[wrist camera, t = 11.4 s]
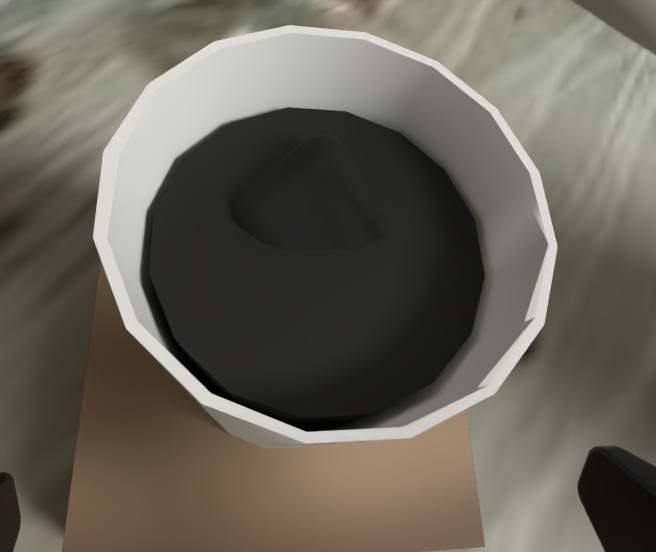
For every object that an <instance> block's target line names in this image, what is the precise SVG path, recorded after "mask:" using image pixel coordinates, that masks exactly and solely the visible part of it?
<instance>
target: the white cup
mask: <svg viewBox="0 0 656 552" xmlns="http://www.w3.org/2000/svg"><path fill="white" fill-rule="evenodd" d="M93 239H94V242H95V245H96V247H97V250H98V253H99V256H100V258H101V261H102V264H103V267H104V269H105V272H106V275H107V278H108V280H109V283H110V286H111V289H112V291H113V294H114V297H115V300H116V303H117V305H118V308H119V311H120V314H121V316H122V319H123V322H124V325H125V327H126V329H127V330H128V331H129V332H130V333H131V334H132V335H133V336H134V337H135V338H136V339H137V340H138V341H139V342H140V343H141V344H142V345H143V346H144V348H145V349H146V350H147V351H148V352H149V353H150V354H151V355H152V356H153V357H154V358H155V359H156V360H157V361H158V362H159V363H160V364H161V365H162V366H163V367H164V368H165V369H166V370H167V371H168V372H169V373H170V374H171V375H172V376H173V377H174V378H175V379H176V380H177V381H178V382H179V383H180V384H181V385H182V386H183V387H184V388H185V389H186V390H187V391H188V392H189V393H190V394H191V395H192V396H193V397H194V398H195V399H196V400H197V402H198V403H199V404H200V405H201V406H202V407H203V408H204V409H205V410H206V411H207V412H208V413H209V414H210V415H211V416H212V417H213V418H214V419H215V420H216V421H217V422H218V423H219V424H220V425H221V426H222V427H223V428H224V429H225V430H226V431H227V432H228V433H229V434H230V435H232V436H234V437H237V438H240V439H242V440H245V441H248V442H250V443H253V444H256V445H258V446H261V447H263V448H283V447H302V446H312V445H326V444H339V443H352V442H366V441H379V440H392V439H406V438H412V437H414V436H416V435H418V434H420V433H422V432H424V431H425V430H427V429H429V428H431V427H433V426H435V425H437V424H439V423H441V422H442V421H444V420H446V419H448V418H450V417H452V416H454V415H456V414H457V413H459V412H461V411H463V410H465V409H467V408H469V407H471V406H472V405H474V404H476V403H478V402H480V401H482V400H484V399H486V398H488V397H489V396H491V395H493V394H495V393H496V391H497V390H498V389H499V387H500V386H501V384H502V383H503V382H504V380H505V379H506V377H507V376H508V375H509V373H510V372H511V370H512V369H513V368H514V366H515V365H516V364H517V362H518V361H519V359H520V358H521V357H522V355H523V354H524V352H525V351H526V350H527V348H528V347H529V345H530V344H531V343H532V341H533V340H534V338H535V337H536V336H537V334H538V333H539V331H540V330H541V329H542V327H543V326H544V324H545V318H546V312H547V306H548V300H549V294H550V289H551V283H552V277H553V271H554V265H555V259H556V253H557V242H556V238H555V234H554V230H553V226H552V222H551V218H550V214H549V209H548V205H547V201H546V197H545V193H544V189H543V185H542V181H541V176H540V172H539V171H538V169H537V168H536V166H535V165H534V163H533V162H532V160H531V159H530V157H529V156H528V154H527V153H526V151H525V150H524V148H523V147H522V146H521V144H520V143H519V141H518V140H517V138H516V137H515V135H514V134H513V132H512V131H511V129H510V128H509V126H508V125H507V123H506V122H505V120H504V119H503V117H502V116H501V114H500V113H499V111H498V110H497V109H496V108H495V107H494V106H493V105H491V104H490V103H489V102H488V101H486V100H485V99H484V98H483V97H481V96H480V95H479V94H478V93H476V92H475V91H474V90H473V89H471V88H470V87H469V86H468V85H466V84H465V83H464V82H463V81H461V80H460V79H459V78H457V77H456V76H455V75H454V74H452V73H451V72H450V71H449V70H447V69H446V68H445V67H444V66H442V65H441V64H440V63H439V62H437V61H435V60H432V59H430V58H428V57H425V56H423V55H420V54H418V53H415V52H413V51H410V50H408V49H405V48H403V47H400V46H398V45H395V44H393V43H390V42H388V41H386V40H383V39H381V38H378V37H376V36H373V35H371V34H368V33H365V32H354V31H344V30H333V29H323V28H313V27H302V26H292V25H288V26H284V27H279V28H274V29H270V30H265V31H261V32H256V33H252V34H247V35H243V36H238V37H233V38H229V39H224V40H220V41H215V42H213V43H211V44H209V45H208V46H206V47H205V48H203V49H202V50H200V51H199V52H197V53H195V54H194V55H192V56H191V57H189V58H188V59H186V60H185V61H183V62H181V63H180V64H178V65H177V66H175V67H174V68H172V69H171V70H169V71H167V72H166V73H164V74H163V75H161V76H160V77H158V78H157V79H155V80H153V81H152V82H150V83H149V84H148V85H147V86H146V88H145V89H144V91H143V92H142V94H141V95H140V97H139V98H138V100H137V101H136V103H135V104H134V106H133V107H132V109H131V110H130V112H129V113H128V115H127V116H126V118H125V119H124V121H123V122H122V124H121V126H120V127H119V129H118V130H117V132H116V133H115V135H114V136H113V138H112V139H111V141H110V142H109V144H108V145H107V147H106V148H105V150H104V151H103V159H102V167H101V175H100V183H99V192H98V200H97V208H96V216H95V224H94V233H93Z"/></svg>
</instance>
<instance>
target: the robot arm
mask: <svg viewBox="0 0 656 552" xmlns="http://www.w3.org/2000/svg"><path fill="white" fill-rule="evenodd" d="M578 494H579V497H580V500H581V502H582V504H583V506H584V509H585V511H586V513H587V515H588V517H589V519H590V521H591V523H592V525H593V528H594V530H595V532H596V534H597V536H598V538H599V540H600V542H601V544H602V547H603V549H604V551H605V552H656V467H655V466H653V465H652V464H650V463H648V462H646V461H644V460H642V459H641V458H639V457H637V456H635V455H633V454H631V453H630V452H628V451H626V450H624V449H622V448H620V447H617V446H597V447H594V448H592V449H591V450H590V451H589V453H588V456H587V458H586V461H585V464H584V467H583V469H582V472H581V475H580V478H579V480H578ZM20 522H21V516H20V510H19V505H18V500H17V495H16V490H15V485H14V480H13V478H12V476H11V475H10V474H9V473H6V472H0V552H13V550H14V546H15V543H16V540H17V537H18V533H19V529H20Z"/></svg>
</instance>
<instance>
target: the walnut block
mask: <svg viewBox="0 0 656 552" xmlns="http://www.w3.org/2000/svg"><path fill="white" fill-rule="evenodd" d="M476 547H485V543H484V536H483V529H482V522H481V514H480V507H479V500H478V493H477V485H476V478H475V471H474V464H473V456H472V449H471V442H470V435H469V427H468V420H467V413H466V409H465V410H463V411H461V412H459V413H457V414H456V415H454V416H452V417H450V418H448V419H446V420H444V421H442V422H441V423H439V424H437V425H435V426H433V427H431V428H429V429H427V430H425V431H424V432H422V433H420V434H418V435H416V436H414V437H412V438H406V439H392V440H379V441H366V442H352V443H339V444H326V445H312V446H302V447H283V448H263V447H261V446H258V445H256V444H253V443H250V442H248V441H245V440H242V439H240V438H237V437H234V436H232V435H230V434H229V433H228V432H227V431H226V430H225V429H224V428H223V427H222V426H221V425H220V424H219V423H218V422H217V421H216V420H215V419H214V418H213V417H212V416H211V415H210V414H209V413H208V412H207V411H206V410H205V409H204V408H203V407H202V406H201V405H200V404H199V403H198V402H197V400H196V399H195V398H194V397H193V396H192V395H191V394H190V393H189V392H188V391H187V390H186V389H185V388H184V387H183V386H182V385H181V384H180V383H179V382H178V381H177V380H176V379H175V378H174V377H173V376H172V375H171V374H170V373H169V372H168V371H167V370H166V369H165V368H164V367H163V366H162V365H161V364H160V363H159V362H158V361H157V360H156V359H155V358H154V357H153V356H152V355H151V354H150V353H149V352H148V351H147V350H146V349H145V348H144V346H143V345H142V344H141V343H140V342H139V341H138V340H137V339H136V338H135V337H134V336H133V335H132V334H131V333H130V332H129V331H128V330H127V329H126V327H125V325H124V322H123V319H122V316H121V314H120V311H119V308H118V305H117V303H116V300H115V297H114V294H113V291H112V289H111V286H110V283H109V280H108V278H107V275H106V272H105V269H104V267H103V264H102V261H101V260H100V267H99V275H98V282H97V290H96V298H95V305H94V313H93V321H92V328H91V336H90V343H89V351H88V359H87V366H86V374H85V382H84V389H83V397H82V405H81V412H80V420H79V427H78V435H77V443H76V450H75V458H74V466H73V473H72V481H71V488H70V496H69V504H68V511H67V519H66V527H65V534H64V542H63V549H62V552H423V551H437V550H450V549H463V548H476Z"/></svg>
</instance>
